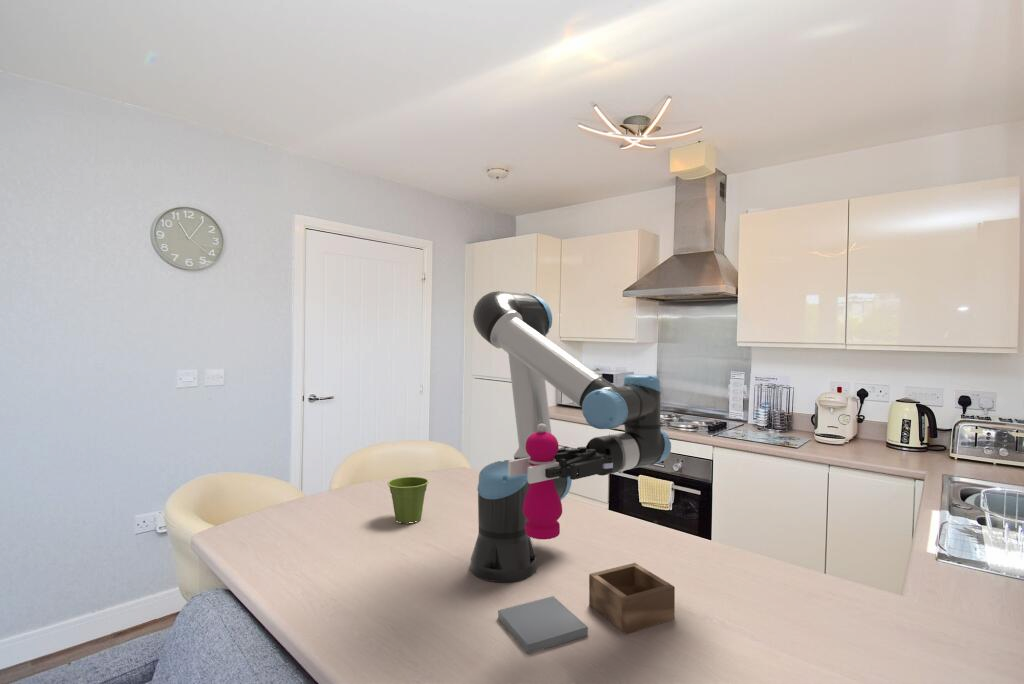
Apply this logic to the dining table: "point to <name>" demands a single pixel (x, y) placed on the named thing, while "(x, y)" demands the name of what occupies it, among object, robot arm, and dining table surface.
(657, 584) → the walnut collar
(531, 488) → the pepper mill
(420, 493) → the plant pot
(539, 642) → the slate tile
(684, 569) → the dining table surface
